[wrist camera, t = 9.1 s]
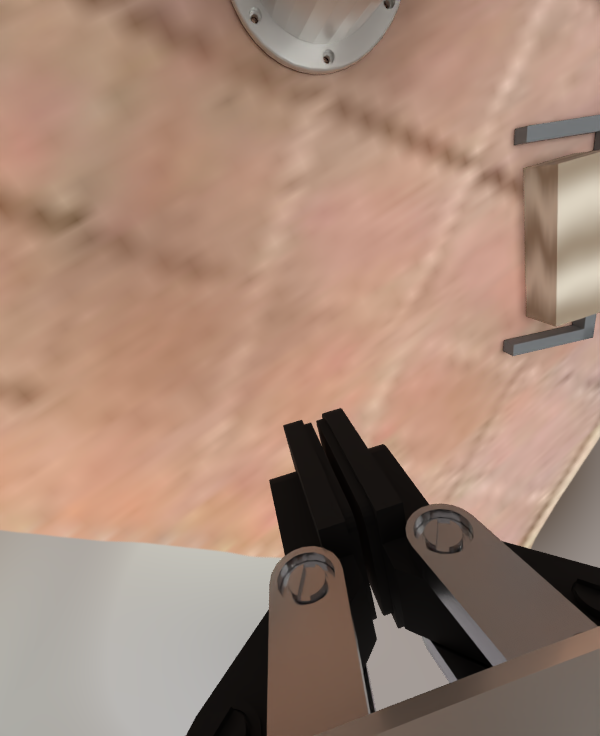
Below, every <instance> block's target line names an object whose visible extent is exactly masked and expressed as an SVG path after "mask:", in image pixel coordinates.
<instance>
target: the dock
mask: <svg viewBox="0 0 600 736" xmlns="http://www.w3.org/2000/svg"><path fill="white" fill-rule="evenodd" d="M593 132H596V136H595V144H594V151H596V150H600V115H595V116H589V117H582V118H576V119H569V120H563V121H556V122H550V123H543V124H537V125H530V126H525V127H522V128H518V129H515V140H514V145H518V144H524V143H530V142H536V141H543V140H549V139H555V138H561V137H568V136H574V135H580V134H586V133H593ZM595 320H596V314H594V315H591V316H587V317H584V318H581V319H578V320H575V321H573V324H572V325H570V326H566V327H562V328H557V329H553V330H548V331H544V332H539V333H535V334H530V335H526V336H522V337H517V338H513V339H508V340H504V349H503V351H504V352H506V353H508V354H510V355H512V356H515V355H520V354H524V353H528V352H533V351H537V350H541V349H545V348H550V347H554V346H558V345H563V344H567V343H571V342H576V341H580V340H584V339H589V338H593V334H594V327H595Z"/></svg>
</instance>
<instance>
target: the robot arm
mask: <svg viewBox="0 0 600 736" xmlns="http://www.w3.org/2000/svg"><path fill="white" fill-rule="evenodd" d="M231 1H232V4H233V7H234V9H235V11H236V13H237V15H238V17H239V19H240V21H241V23H242V25H243V26H244V27H245V29H246V30H247V32H248V33H249V34H250V36H251V37H252V39H253V40H254V41H255V42H256V43H257V44H258V45H259V46H260V47H261V48H262V49H263V50H264V51H265V52H266V53H267V54H268V55H269V56H270V57H272V58H273V59H275V60H276V61H278V62H279V63H281V64H282V65H284V66H286V67H289V68H291V69H294V70H296V71H298V72H304V73H310V74H328V73H333V72H337V71H340V70H343V69H346V68H348V67H349V66H351V65H353V64H355V63H356V62H358V61H360V60H361V59H362V58H363V57H364V56H365V55H366V54H368V53H369V52H370V51H371V50H372V49H373V48H374V47H375V45H376V44H377V43H378V42H379V41H380V40H381V39H382V38H383V36H384V34H385V33H386V31H387V29H388V28H389V26H390V25H391V23H392V21H393V19H394V17H395V14H396V12H397V10H398V8H399V5H400V1H401V0H231ZM384 3H386V4H387V8H386V7H385V6H384ZM252 17H256V18H257V20H258V23H256V24H255V23H253V22H252V21H251V18H252ZM323 57H327V58H328V60H329V63H328V64H326V63H325V62H324V60H323ZM322 418H323V419H321V420H318V421H316V422H317V427H318V431H319V436H320V440H321V443H320V441H319V439H318V437H317V435H316V432H315V430H314V428H313V426H312V424H311V423H308V424H304V423H303V421H302V420H300V421H296V422H293V423H290V424H286V425H283V427H284V431H285V434H286V438H287V442H288V445H289V449H290V452H291V456H292V460H293V463H294V467H295V470H296V472H293V473H290V474H286V475H283V476H280V477H277V478H274V479H270V480H269V481H270V487H271V491H272V496H273V501H274V506H275V510H276V515H277V520H278V525H279V529H280V534H281V539H282V544H283V548H284V553H285V556H284V557H283V558H282V559H281V560H280V561H279V562H278V563H277V565H276V566H275V568H274V570H273V572H272V574H271V579H270V584H269V610H268V611H267V613H266V614H265V616H264V617H263V619H262V620H261V622H260V623H259V625H258V626H257V628H256V629H255V630H254V632H253V633H252V635H251V636H250V638H249V639H248V641H247V642H246V644H245V645H244V647H243V648H242V650H241V651H240V653H239V654H238V656H237V657H236V658H235V660H234V661H233V663H232V665H231V666H230V667H229V669H228V670H227V672H226V673H225V675H224V676H223V678H222V679H221V681H220V682H219V684H218V685H217V687H216V688H215V689H214V691H213V692H212V694H211V695H210V697H209V698H208V700H207V701H206V703H205V704H204V706H203V707H202V709H201V710H200V712H199V713H198V715H197V716H196V718H195V720H194V722H193V724H192V725H191V727H190V729H189V731H188V733H187V735H186V736H600V568H597V567H593V566H590V565H587V564H583V563H579V562H576V561H572V560H568V559H565V558H561V557H557V556H554V555H550V554H547V553H543V552H539V551H535V550H532V549H528V548H525V547H521V546H517V545H514V544H510V543H507V542H503V541H501V540H500V539H499V538H498V537H496V536H495V535H494V534H493V533H492V532H491V531H490V530H488V529H487V528H486V527H485V526H484V525H483V524H482V523H481V522H479V521H478V520H477V519H476V518H475V517H474V516H473V515H471V514H470V513H468V512H467V511H465V510H464V509H462V508H459V507H456V506H453V505H448V504H431V505H429V504H428V502H427V501H426V500H425V498H424V497H423V496H422V494H421V493H420V491H419V490H418V489H417V487H416V486H415V485H414V483H413V482H412V481H411V479H410V478H409V477H408V475H407V474H406V472H405V471H404V470H403V468H402V467H401V466H400V464H399V463H398V462H397V460H396V459H395V458H394V456H393V455H392V453H391V452H390V451H389V449H388V448H387V447H386V446H385V445H383V444H382V445H379V446H375V447H372V448H369V449H368V448H367V447H366V445H365V443H364V442H363V440H362V439H361V437H360V436H359V434H358V433H357V431H356V430H355V428H354V427H353V425H352V424H351V422H350V420H349V419H348V417H347V416H346V414H345V413H344V411H343V410H342V409H341V408H339V409H336V410H333V411H329V412H326V413H323V414H322ZM321 444H322V445H321ZM369 583H370V584H369ZM370 586H371V588H372V590H373V593H374V595H375V598H376V600H377V602H378V605H379V607H380V609H381V611H382V614H383V615H384V616H385V615H388V614H390V613H392V616H393V618H394V620H395V622H396V625H397V627H398V628H401V627H405V629H407V630H409V631H411V632H414V633H416V634H418V635H420V636H422V639H423V641H424V643H425V646H426V648H427V650H428V651H429V652H430V654H431V655H432V657H433V659H434V660H435V662H436V663H437V665H438V666H439V668H440V669H441V670H442V672H443V673H444V675H445V677H446V678H447V680H448V681H449V684H447V685H444V686H441V687H439V688H436V689H434V690H431V691H428V692H426V693H423V694H420V695H418V696H415V697H413V698H410V699H407V700H405V701H402V702H400V703H397V704H395V705H392V706H389V707H387V708H384V709H381V710H379V711H376V708H375V703H374V698H373V693H372V688H371V682H370V677H369V672H368V668H367V664H366V663H367V661H368V659H369V656H370V654H371V652H372V649H373V647H374V645H375V642H376V640H377V638H376V633H375V629H374V624H373V620H374V619H376V618H377V616H376V612H375V607H374V602H373V598H372V593H371V588H370Z"/></svg>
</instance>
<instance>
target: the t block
mask: <svg viewBox="0 0 600 736" xmlns="http://www.w3.org/2000/svg"><path fill="white" fill-rule="evenodd" d="M523 177H524V230H525V282H526V316H527V317H530V318H533V319H536V320H539V321H541V322H544V323H547V324H550V325H553V326H556V327H557V326H560V325H563V324H566V323H569V322H572V321H575V320H578V319H581V318H584V317H587V316H591V315H594V314H597V313H600V150H596V151H589V152H582V153H576V154H571V155H568V156H564V157H561V158H557V159H554V160H550V161H547V162H543V163H540V164H536V165H533V166H529V167H526V168H523Z"/></svg>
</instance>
